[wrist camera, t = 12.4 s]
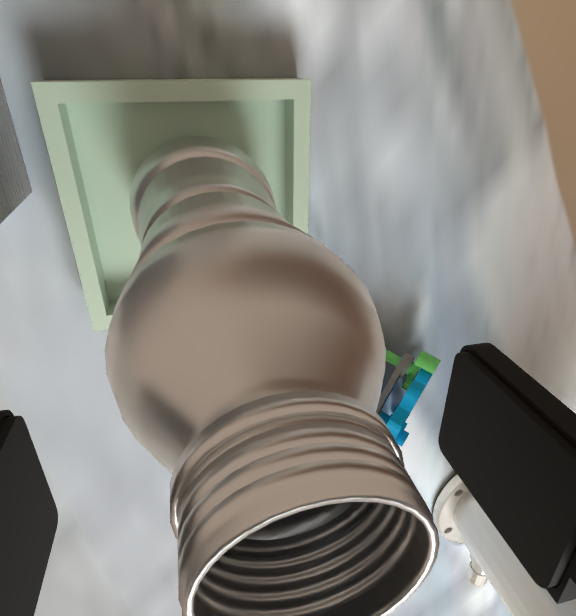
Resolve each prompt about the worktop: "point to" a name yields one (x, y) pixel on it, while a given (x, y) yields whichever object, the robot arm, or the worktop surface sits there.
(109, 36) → the worktop surface
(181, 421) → the plastic bottle
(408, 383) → the gear
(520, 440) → the robot arm
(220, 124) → the tray
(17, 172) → the grey box
